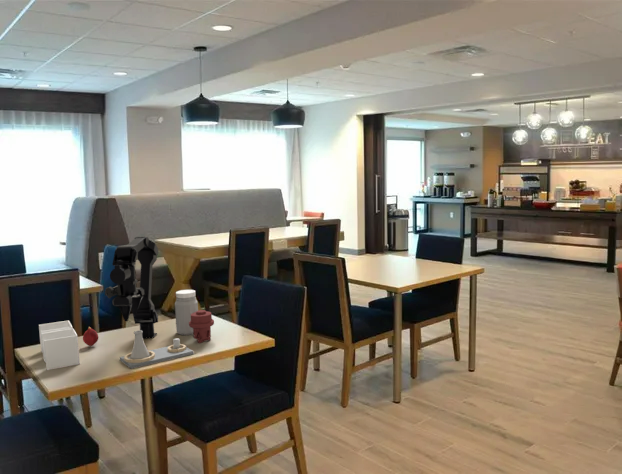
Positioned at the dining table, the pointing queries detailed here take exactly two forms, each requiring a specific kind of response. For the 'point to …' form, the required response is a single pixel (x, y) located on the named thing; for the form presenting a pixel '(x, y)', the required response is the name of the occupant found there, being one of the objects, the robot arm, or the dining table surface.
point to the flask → (139, 347)
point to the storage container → (59, 344)
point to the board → (158, 355)
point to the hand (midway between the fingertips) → (130, 317)
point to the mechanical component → (201, 325)
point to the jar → (185, 310)
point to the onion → (90, 337)
